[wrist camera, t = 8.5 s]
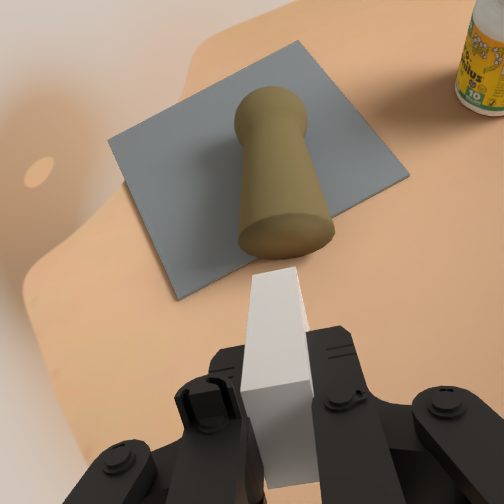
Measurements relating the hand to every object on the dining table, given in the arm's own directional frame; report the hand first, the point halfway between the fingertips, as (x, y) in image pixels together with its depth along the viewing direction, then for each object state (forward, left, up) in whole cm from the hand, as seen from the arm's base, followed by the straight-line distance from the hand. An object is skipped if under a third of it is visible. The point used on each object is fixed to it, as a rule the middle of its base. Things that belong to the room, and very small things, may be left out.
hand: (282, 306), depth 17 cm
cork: (-3, -7, -11) cm, 13 cm away
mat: (-4, -17, -14) cm, 22 cm away
